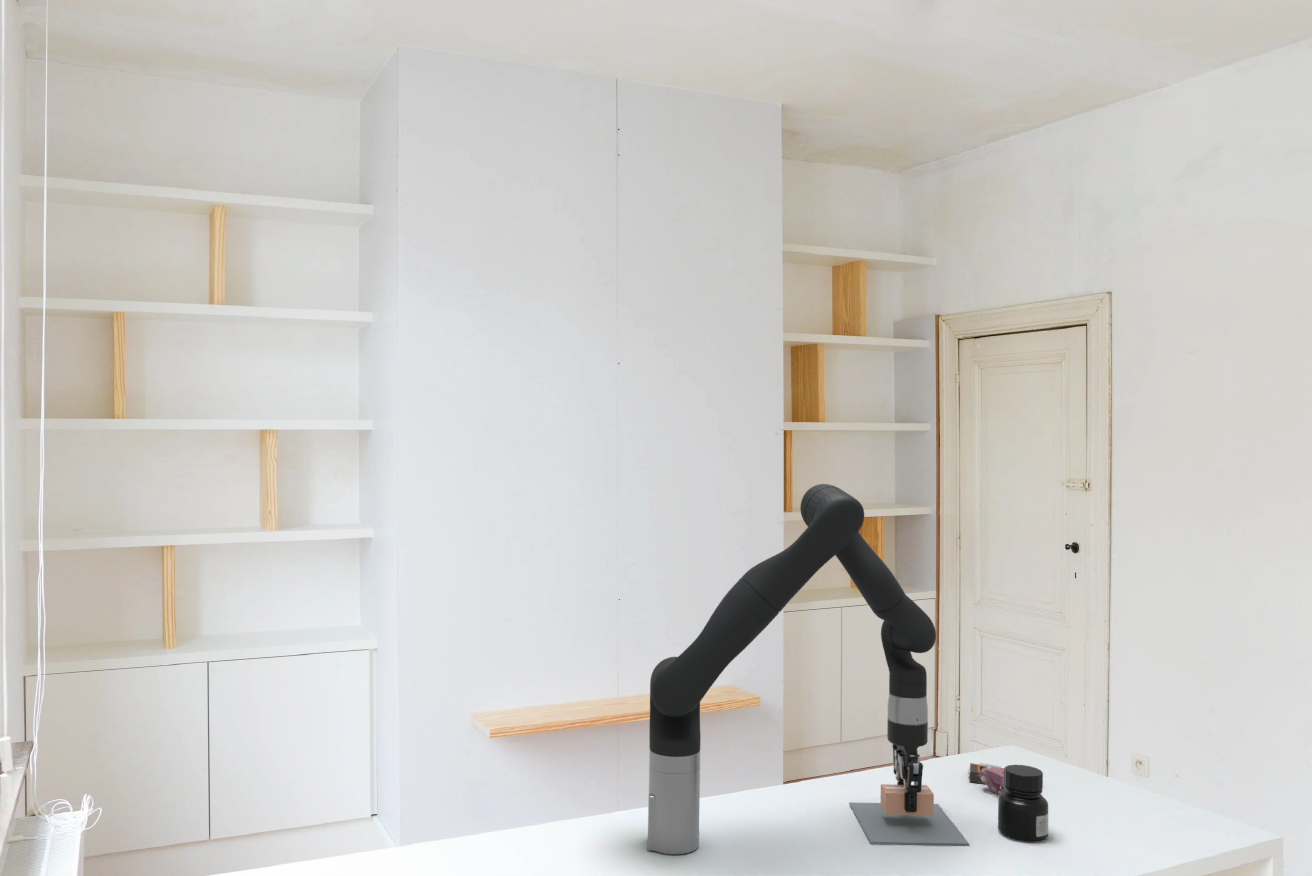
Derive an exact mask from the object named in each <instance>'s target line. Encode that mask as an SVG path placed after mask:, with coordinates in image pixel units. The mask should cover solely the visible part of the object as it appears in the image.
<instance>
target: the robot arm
mask: <svg viewBox="0 0 1312 876" xmlns="http://www.w3.org/2000/svg"><path fill="white" fill-rule="evenodd" d="M800 514H801V517H802V520H803V522H804V524H805V525H806V526H807V528H806V529H805V530H804V531H803V532H802V533H801V534H800V536H798V538H797V539H795V541H794V542H793V543H791V544H790V545H789V546H788V547H787V548H785V549H784V550H782V551H780V552H779V553H777V554H775V555H773V556H771V557H769V558H766V559H765V560H762V561H761V562H759V563H757V564H755V565H753V566H752V567H751V568H750V569H748V570H747V571H746V572H745V573H744V574H743V575H742V576H741V577H740V579H738V581H736V582H735V584H733V586H732V587H731V588H730V589H729V590H728V592H727V593H726V594H725V595H724V596H723V597H722V599H721V600H720V602H719V603H718V605H717V606H716V608H715V609H714V611H713V613H712V614H711V616H710V617H709V619H708V620H707V622H706V623H705V625H704V627H703V629H702V631H701V632H700V633H699V634H698V635H697V637H696V638H695V640H693V642H691V644H690V645H689V646H688V647H686V649H684V651H682V652H681V654H679V656H670V657H667V658H664V659H662V660H661V661H660V662H659V663H657V665H655V667H654V669H653V671H652V673H651V675H650V681H649V682H650V683H649V735H648V736H649V745H648V747H649V763H648V764H649V765H648V767H649V768H648V771H649V773H648V801H647V802H648V807H647V808H648V809H647V812H648V813H647V814H648V815H647V816H648V817H647V851H651V852H652V851H653V852H658V853H660V854H666V855H684V854H689V853H691V852H694V851H695V850H697V849H698V848H699V845H700V797H701V796H700V795H701V794H700V792H701V788H700V787H701V785H700V784H701V782H700V781H701V738H702V737H701V736H702V735H701V701H702V700H703V699H704V697H705V695H706V694H707V693H708V691H709V690H710V688H711V687H712V686H713V685H714V684H715V682H716V681H717V679H718V678H719V676H721V674H722V673H723V672H724V670H725V669H726V668H727V667H728V666H729V664H730V663H731V662H732V661H733V660H734V659H735V658H737V657H738V656H739V655H740V654H741V653H742V652H743V651H744V650H745V649H746V648H747V647H748V646H750V644H751V643H752V642H753V641H754V640H755V639H756V638H757V637H758V636H759V635H760V634H762V632H763V631H764V630H765V629H766V628H767V627H768V626H769V625H770V624H771V622H773V620H774V619H775V618H776V617H777V616H778V615H780V612H781V611H783V609H784V608H785V607H786V605H788V603H789V602H790V601H791V600H792V599H793V598H794V597H795V596H796V595H797V593H798V592H799V591H800V590H802V588H803V587H804V586H805V585H806V584H807V583H808V582H809V581H810V579H811V578H813V576H814V575H815V574H816V573H817V572H818V571H819V570H820V569H821V568H822V567H824V565H825V564H827V563H828V562H829V561H830V560H831V559H832V558H834V557H836V559H837V560H838V561H839V562H840V564H841V565H842V567H843V568H844V570H845V571H846V572H847V575H849V577H850V579H851V580H852V582H853V583H854V586H855V587H856V588H857V590H858V591H859V593H860V594H861V596H862V597H863V599H864V600H865V602H866V604H867V605H868V607H869V608H870V609H871V611H872V612H873V614H874V615H875V616H876V617H877V618H879V619H881V620H883V622H882V625H881V628H880V629H881V630H880V639H881V643H882V648H883V651H884V657H885V661H886V664H887V667H888V668H887V669H888V671H889V672H888V673H889V675H888V676H889V677H888V678H889V679H888V685H889V686H888V687H889V688H888V700H887V728H886V729H887V733H886V734H887V735H886V737H887V740H888V742H889V743H890V744H892V745H891V747H892V757H893V759H892V760H893V774H894V775H895V780H896V781H897V782H896V785H904V809H905V811H906V812H916V811H917V793H918V792H921V785H923V784H922V783H923V782H922V781H923V769H924V764H923V762H921V758H920V757H921V756H920V754H919V752H918V748H919V747H924V746H926V745H927V744H928V739H929V738H928V733H929V730H928V726H929V725H928V724H929V723H928V721H929V720H928V718H929V716H928V715H929V707H928V697H927V689H928V688H927V687H928V684H927V683H928V682H927V681H928V680H927V679H928V678H927V669H926V668H925V666H924V665H923V664H921V663H919V662H917V661H916V660H915V659H914V658H913V655H912V653H915V654H924V653H927V652H929V651H930V650H932V648H933V647H934V646H935V643H936V640H937V632H936V627H935V624H934V623H933V621H932V619H931V618H930V617H929V615H928V614H927V613H926V612H925V611H924V610H923V609H922V608H921V607H920V606H919V605H918V604H917V603H916V602H915V601H913V600H912V599H911V598H910V597H909V596H908V595H907V594H906V593H905V591H904V590H903V588H902V587H901V584H900V583H899V581H898V580H897V578H896V577H895V576H894V574H893V573H892V570H890V568H889V567H888V566H887V564H886V563H885V562H884V561H883V560H882V558H881V557H880V556H879V555H878V554H877V553H876V551H874V550H873V549H872V547H871V546H870V545H869V543H868V542H867V541H866V540H865V539H864V537H863V536H862V534H861V533H860V530H861V528H862V526H863V524H864V520H865V510H864V507H863V505H862V504H861V502H860V501H859V500H858V499H856V498H855V497H854V496H852V495H851V494H849V493H847V492H846V491H845V490H843V489H841V488H839V487H837V486H836V485H833V484H832V485H831V484H828V483H820V484H816V485H814V486H811V487H810V488H809V489H807V491H805V493H804V494H803V496H802V498H801V502H800ZM912 783H913V785H914V786H911V785H912Z"/></svg>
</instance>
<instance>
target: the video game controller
mask: <svg viewBox="0 0 1312 876" xmlns="http://www.w3.org/2000/svg"><path fill="white" fill-rule="evenodd" d="M979 777H980V779H981V781H982V782H984V783H985V784H984V785H986V786H987V787H988V788H989V790H990V791H991V792H992V793H993V792H994V793H993V794H995V793H996V794H995V795H997V794H998V793H1000V794H1001V793H1002V792H1004V790H1005V787H1004V785H1005V784H1004V770H1003V769H1000V768H995V767H993V768H991V767H990V766H988V767H987V768H986V767H985V768H984V769H982V770H981V771H980V772H979ZM999 785H1000V786H999Z"/></svg>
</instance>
